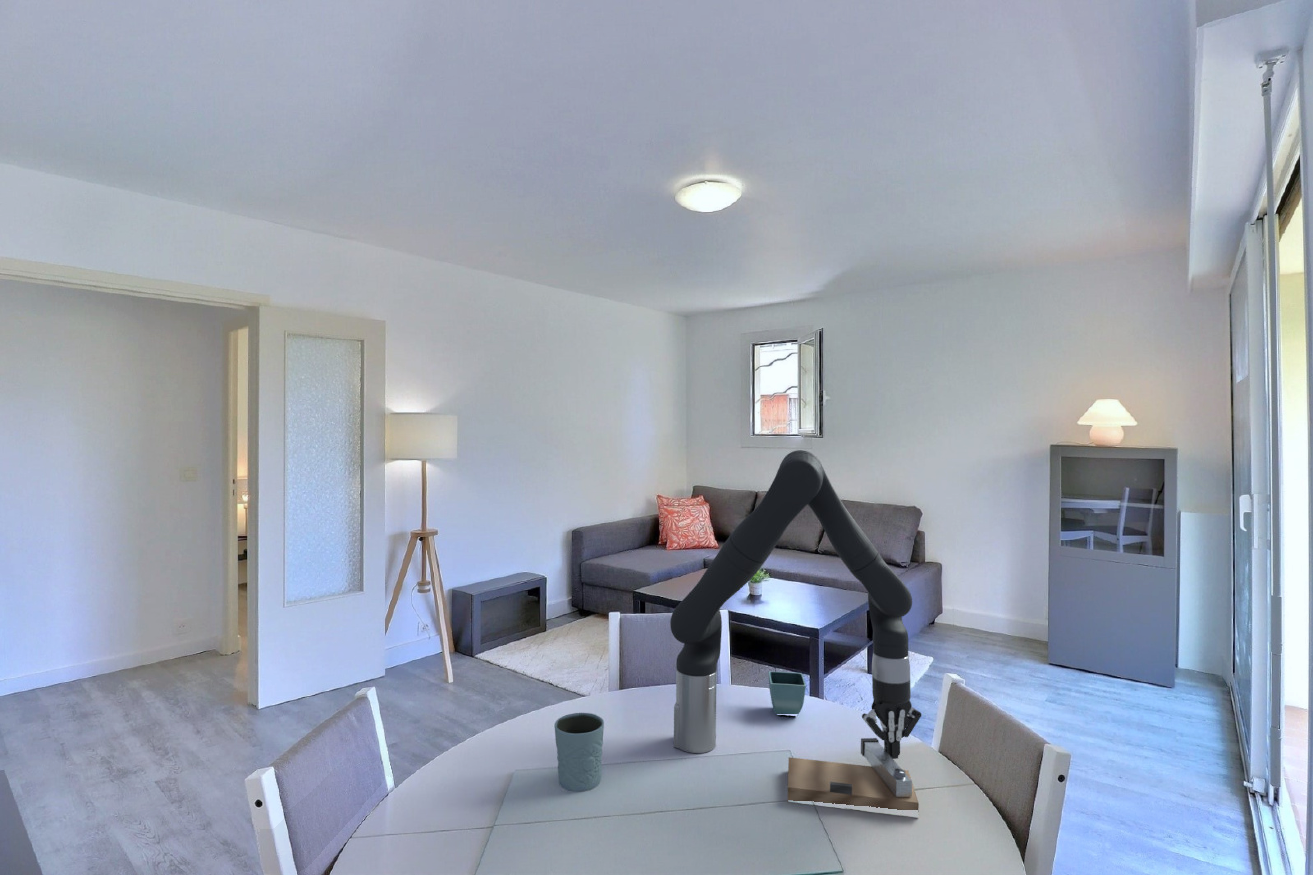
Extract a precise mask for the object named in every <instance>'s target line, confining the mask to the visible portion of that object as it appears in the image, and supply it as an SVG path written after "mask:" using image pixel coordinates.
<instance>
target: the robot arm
mask: <svg viewBox="0 0 1313 875" xmlns="http://www.w3.org/2000/svg"><path fill="white" fill-rule="evenodd" d="M807 505H808V506H809V508H810V509H811V510H812V512H813V514H814V515H815V516H816V519H818V521H819V523H820V524H821V526H822V528H823V530H824V532H825V534H826V536H827V538H828V540H829V542H830V544H831V546H832V547H833V549H834V551H835V552H836V554H837V555H838V557H839V558H840V560H841V561H842V562H843V564H844V565H845V567H846V568H847V569H848V570H849V572H850V573H851V575H853V577H854V578H856V580H858V581H859V582H860V583H861V584H862V585H863V587H864V588H865V589H866V591H867V594H868V595H867V602H868V609H869V610H868V611H869V617H870V621H871V627H872V660H871V661H872V662H871V675H872V676H871V677H872V678H871V681H872V683H871V684H872V688H871V689H872V698H873V701H872V703H871V710H869V712H868V713H863V714H862V715H861V718H862V719H863V721H864V722H865V724H866V725H867V726H868V727H869V728H870V729H871V731H872V732H873V733H874V734H875V735H876V736H877V737H878V738H879V739H881V740H882V741H883V744H884V745H883V746H884V747H883V748H884V749H885V751H886V752H887V753H888V754H889V755H890V756H891V757H892V759H893V760H896V759H899V756H900V754H901V740H902V738H908V737H909V736H910V734H911V733H912V731H913V730H914V729H915V727H916V725H917V723H918V722H919V720H920V719H921V718H922V712H920V711H919V710H918V709H916V707H913V706H912V702H911V701H910V700H911V697H912V696H911V695H912V694H911V663H910V656H909V654H910V653H909V634H908V633H909V632H908V630H907V628H906V626H905V625H904V622H903V617H904V616H906V615H907V614H908V613H909V612H910V611H911V609H912V606H913V598H912V595H911V592H910V590H909V589H908V587H907V586H906V584H905V583H904V582H903V580H902V579H900V577H899V576H898V575H897V574H896V573H895V571H894V570H892V568H891V567H890V566H889V565H888V564H887V563H886V561H885V560H884V559H883V557H882V555H881V554H880V552H879V551H878V550H877V548H876V547H875V546H874V545H873V543H872V542H871V540H870V539H869V538H868V535H866V534H865V532H864V531H863V529H861V528H862V527H860V526H859V525H858V523H857V521H856V520H855V519H854V517H853V515H851V514H850V512H849V511H848V509H847V508H846V506H845V505H844V502H843V501H842V500H841V499H840V496H839V495H838V493H837V492H836V490H835V488H834V487H833V485H832V483H831V481H830V479H829V477H828V475H827V472H826V471H825V469H824V467H823V464H822V463H821V461H820V460H819V458H818V456H816V455H815V454H814V453H812V452H810V451H808V450H807V451H806V450H804V449H803V450H801V449H800V450H799V449H798V450H794V451H790V453H788V454H787V455H785V457H784V458H783V459H782V460H781V462H780V464H779V468H778V469H777V470H776V475H775V477H774V479H773V481H772V483H771V485H770V486H769V488H768V490H767V492H766V493H765V494H764V497H763V498H762V500H761V501H760V503H759V504H758V506H756V508H754V510H752V511H751V512H750V513H749V514H747V516H746V517H745V518H744V519H743V520H742V521H741V522H740V523H739V524H738V525H737V527H736V528H735V529H734V530H733V531H732V532H731V533H730V535H729V537H728V538H727V539H726V540H725V541H724V544H723V545H722V546H721V548H720V550H719V551H718V552H717V554H716V555H715V557H714V558H713V559H712V561H711V563H710V564H709V565H708V567H707V569H706V570H705V572H703V575H702V577H701V578H700V580H698V582H697V583H696V585H694V587H693V588H692V590H691V591H689V593H687V595H686V596H685V597H684V598H683V599H682V600H681V602H679V604H678V605H676V607H675V608H674V609H673V612H672V614H671V616H670V621H669V622H670V623H669V624H670V630H671V633H672V636H673V637H674V638H675V640H677V642H679V643H682V644H684V645H683V646H682V649H681V650H680V652H679V653H678V655H677V657H676V664H675V665H676V666H675V668H676V671H675V672H676V674H675V677H676V678H675V680H676V681H675V687H676V688H675V703H674V707H673V748H677V749H680V750H681V751H684V752H686V753H692V754H704V753H708V752H710V751H712V750H714V749H715V748H716V742H717V683H718V682H717V678H718V676H717V671H718V670H717V669H718V668H717V667H718V661H719V659H720V656H721V651H722V650H721V648H722V630H723V629H722V627H723V622H722V614H721V611H720V609H721V607H722V606H723V605H724V604H726V602H727V601H728V600H729V599H731V598H732V597H733V596H734V595H735V594H737V593H738V592H739V591H740V590H741V589H742V588H743V587H745V585H747V583H749V582H750V581H751V580H752V579H753V577H754V576H755V575H756V574H757V573H758V571H759V570H760V569H761V568H762V567H763V565H764V564H765V562H766V561H767V559H768V558H769V556H770V555H771V554H772V553H773V551H774V549H775V548H776V546H777V544H778V543H779V542H780V540H781V538H782V536H783V534H784V533H785V531H786V529H788V526H790V524H791V523H792V521H794V520H795V518H797V516H798V515H799V514H800V513H801V512H802V511H803V510H804V509H805V507H807ZM877 718H878V719H877ZM877 720H879V721H880V722H879V723H880V726H881V728H880V726H879V725H878V724H877V723H878V721H877Z"/></svg>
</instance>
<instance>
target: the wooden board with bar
mask: <svg viewBox="0 0 1313 875" xmlns="http://www.w3.org/2000/svg"><path fill="white" fill-rule="evenodd" d="M787 768H788V770H787V772H788V773H787V801H788V800H793V801H814V802H823V803H832V804H834V803H835V804H846V805H854V806H869V807H870V806H871V807H876V808H878V807H880V808H888V809H897V810H918V811H919V808H920V807H919V803H920V802H919V799H918V796H917V792H916V790H915V787H914V784H913V783H912V797H896V796H895V795H894V794H893V792H892V791H891V790H890V789H889V787H888V786H887V785H886V783H885V782H884V781H883V780H882V778H881V777H880V776H879V775H878V773H877V772H876V771H875V770H874V768H873V767H872V766H871V765H861V764H854V763H853V764H852V763H845V762H844V763H843V762H835V761H826V760H817V759H807V758H799V757H788V767H787ZM903 770H904V771H905V774H906V775H907V776H908V777H909V778H910V779H911V780H912V778H911V774H910V772H909V770H906V769H903Z"/></svg>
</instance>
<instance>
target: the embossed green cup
mask: <svg viewBox="0 0 1313 875" xmlns="http://www.w3.org/2000/svg"><path fill="white" fill-rule="evenodd" d="M553 727H554V737H555V738H554V739H555V746H556V753H557V756H556V759H557V774H558V783H559V785H560V787H561V788H562V789H564V790H565V791H566V790H567V791H568V792H575V793H577V792H580V793H581V792H588V791H591V790H593V789H595V788H597V787H598V786H599V785H600V783H601V779H602V768H603V767H602V766H603V765H602V759H603V749H602V748H603V744H604V729H605V722H604V719H603V718H602V717H601V716H600V715H597V714H595V713H591V712H575V713H569V714H565V715H563V716H561V717H559V718H558V719H557V720H556V721H555V722H554V726H553Z"/></svg>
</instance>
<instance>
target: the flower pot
mask: <svg viewBox="0 0 1313 875" xmlns="http://www.w3.org/2000/svg"><path fill="white" fill-rule="evenodd" d="M768 684H769V695H770V701H771V706H772V709H773V711H774V714H775V715H776V714H798V715H799V714H800V713H801V712H802V710H803V706H804V703H805V697H806V696H805V695H806V688H807V684H806V681H805V678H804V674H803V673H801V672H791V671H774V670H773V671H771V670H770V671H768Z"/></svg>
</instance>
